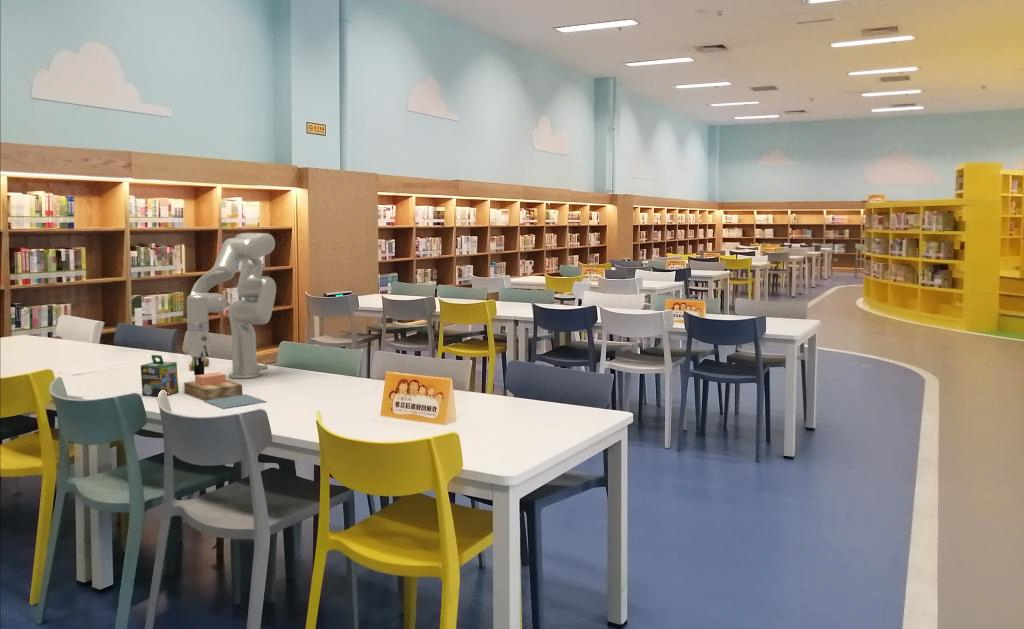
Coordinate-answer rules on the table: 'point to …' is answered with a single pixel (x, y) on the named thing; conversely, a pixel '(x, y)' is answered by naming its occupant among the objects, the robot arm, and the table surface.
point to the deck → (213, 390)
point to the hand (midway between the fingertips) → (199, 374)
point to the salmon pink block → (210, 378)
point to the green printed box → (159, 377)
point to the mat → (234, 401)
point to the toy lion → (191, 365)
